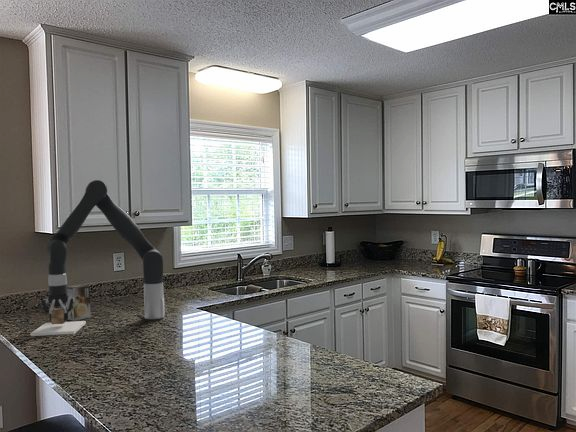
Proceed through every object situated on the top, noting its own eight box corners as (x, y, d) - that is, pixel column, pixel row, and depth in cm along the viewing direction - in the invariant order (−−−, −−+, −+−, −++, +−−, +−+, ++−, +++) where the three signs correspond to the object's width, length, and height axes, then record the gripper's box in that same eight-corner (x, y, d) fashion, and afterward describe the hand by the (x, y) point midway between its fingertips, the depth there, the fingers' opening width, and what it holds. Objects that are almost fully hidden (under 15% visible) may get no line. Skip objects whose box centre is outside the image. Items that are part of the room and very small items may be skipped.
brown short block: (66, 320, 220) (66, 308, 220) (63, 323, 215) (62, 310, 215) (55, 321, 219) (54, 308, 219) (51, 324, 214) (51, 311, 214)
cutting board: (85, 323, 227) (85, 320, 227) (74, 333, 209) (74, 331, 209) (45, 325, 225) (45, 322, 225) (30, 336, 207) (30, 333, 207)
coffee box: (84, 315, 243) (83, 284, 242) (91, 317, 239) (90, 285, 238) (66, 319, 236) (65, 287, 235) (73, 321, 232) (72, 288, 231)
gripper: (77, 281, 221) (78, 318, 222) (44, 283, 219) (45, 319, 220) (71, 284, 214) (73, 322, 214) (37, 285, 212) (39, 324, 212)
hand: (59, 320), depth 217 cm, fingers closed on brown short block, 5 cm apart
